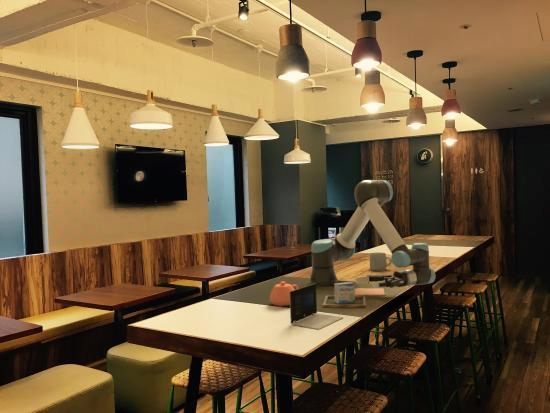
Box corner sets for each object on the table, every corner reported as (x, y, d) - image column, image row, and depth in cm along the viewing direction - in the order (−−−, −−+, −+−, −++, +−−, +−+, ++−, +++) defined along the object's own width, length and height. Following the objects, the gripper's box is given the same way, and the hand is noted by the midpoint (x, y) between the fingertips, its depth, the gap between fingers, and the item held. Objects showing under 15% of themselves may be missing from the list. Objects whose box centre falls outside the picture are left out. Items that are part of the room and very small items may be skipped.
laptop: (318, 331, 164) (317, 294, 163) (290, 326, 171) (289, 291, 171) (343, 319, 178) (342, 285, 178) (316, 315, 186) (315, 283, 185)
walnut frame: (322, 307, 196) (322, 304, 196) (326, 297, 214) (326, 295, 214) (365, 307, 193) (365, 305, 193) (365, 297, 211) (365, 295, 211)
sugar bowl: (266, 303, 208) (265, 280, 207) (294, 299, 213) (293, 277, 212) (275, 309, 196) (274, 285, 196) (305, 305, 201) (304, 282, 201)
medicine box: (338, 304, 200) (337, 284, 200) (334, 302, 204) (333, 282, 204) (355, 302, 202) (354, 283, 202) (350, 300, 207) (350, 281, 206)
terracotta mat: (354, 295, 216) (354, 294, 216) (354, 289, 230) (354, 288, 230) (384, 295, 214) (384, 294, 214) (383, 289, 228) (383, 288, 227)
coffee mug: (367, 270, 285) (366, 254, 285) (373, 267, 293) (373, 252, 293) (388, 271, 277) (387, 255, 277) (393, 269, 286) (393, 253, 285)
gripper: (421, 291, 202) (379, 296, 195) (389, 282, 225) (350, 286, 218) (420, 274, 201) (378, 278, 194) (388, 266, 225) (350, 270, 218)
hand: (363, 282), depth 206 cm, fingers open, 13 cm apart
